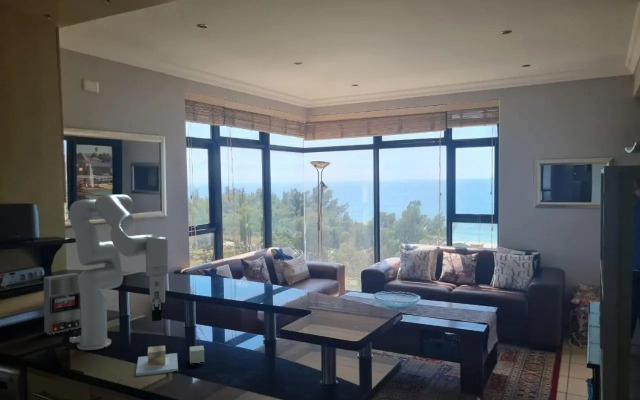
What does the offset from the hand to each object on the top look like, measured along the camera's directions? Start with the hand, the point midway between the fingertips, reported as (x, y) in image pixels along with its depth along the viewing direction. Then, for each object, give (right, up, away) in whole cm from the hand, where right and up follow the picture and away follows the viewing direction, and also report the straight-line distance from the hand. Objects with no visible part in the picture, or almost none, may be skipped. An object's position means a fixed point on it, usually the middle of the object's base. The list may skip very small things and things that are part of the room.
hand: (156, 316), depth 174 cm
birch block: (0, -17, +1) cm, 17 cm away
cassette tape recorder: (-56, -16, +40) cm, 71 cm away
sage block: (+13, -18, +5) cm, 23 cm away
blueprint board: (0, -18, +1) cm, 18 cm away
